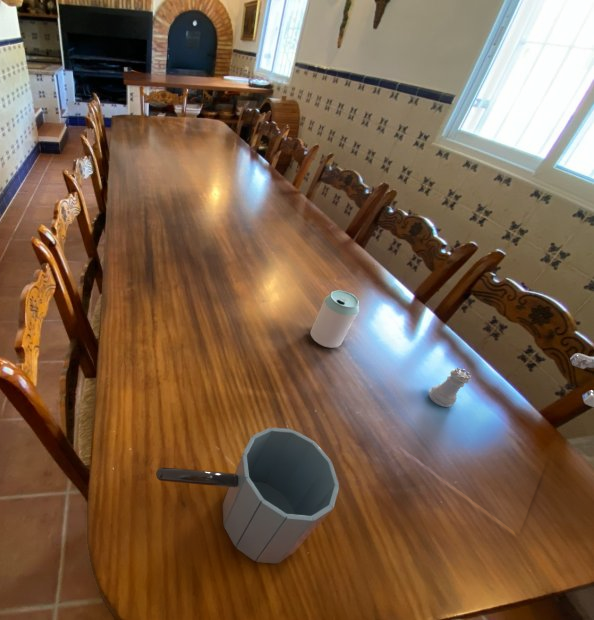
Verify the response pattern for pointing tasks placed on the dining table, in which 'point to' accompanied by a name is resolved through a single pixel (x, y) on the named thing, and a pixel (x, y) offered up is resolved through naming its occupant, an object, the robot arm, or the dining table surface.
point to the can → (335, 318)
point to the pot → (271, 493)
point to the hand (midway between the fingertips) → (579, 376)
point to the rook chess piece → (449, 388)
